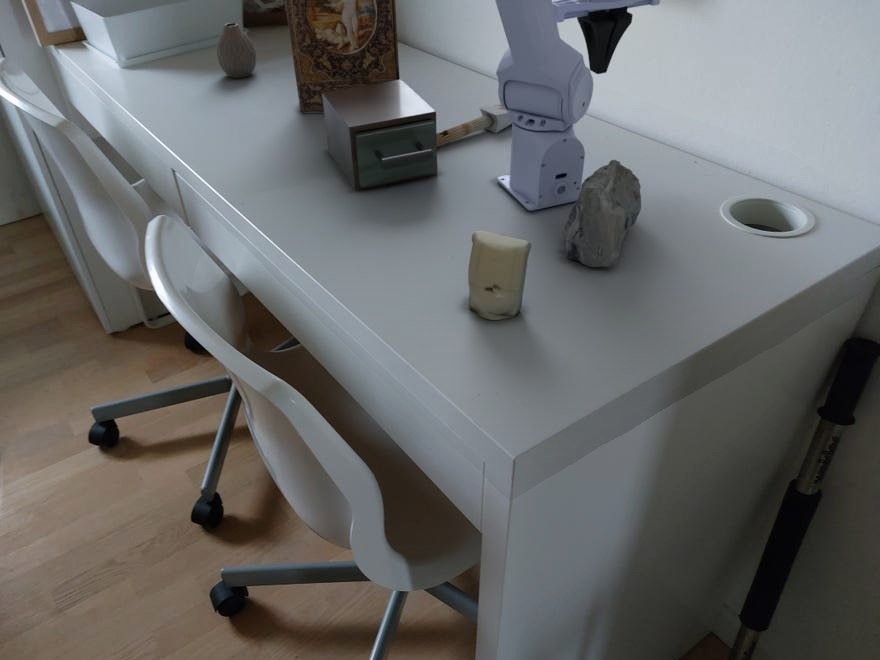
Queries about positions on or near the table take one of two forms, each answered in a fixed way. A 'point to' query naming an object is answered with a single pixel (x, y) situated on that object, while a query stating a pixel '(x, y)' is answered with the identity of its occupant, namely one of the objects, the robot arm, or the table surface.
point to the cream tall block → (497, 274)
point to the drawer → (396, 152)
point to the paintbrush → (477, 124)
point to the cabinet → (369, 119)
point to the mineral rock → (603, 215)
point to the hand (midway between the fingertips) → (598, 71)
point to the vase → (236, 52)
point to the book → (341, 46)
